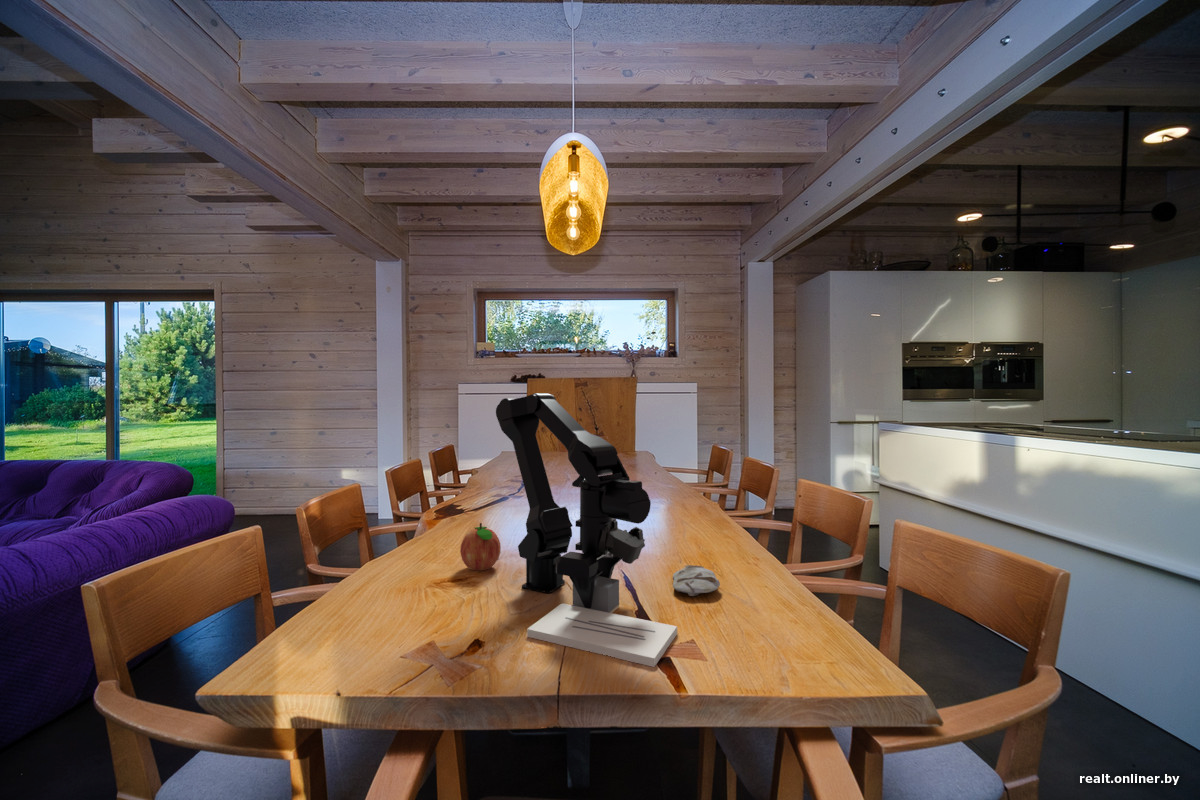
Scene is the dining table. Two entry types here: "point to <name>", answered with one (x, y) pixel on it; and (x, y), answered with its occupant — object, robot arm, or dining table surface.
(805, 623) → the dining table surface
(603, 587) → the block
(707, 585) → the stone
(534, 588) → the robot arm
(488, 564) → the fruit
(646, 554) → the dining table surface
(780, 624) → the dining table surface
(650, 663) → the board
